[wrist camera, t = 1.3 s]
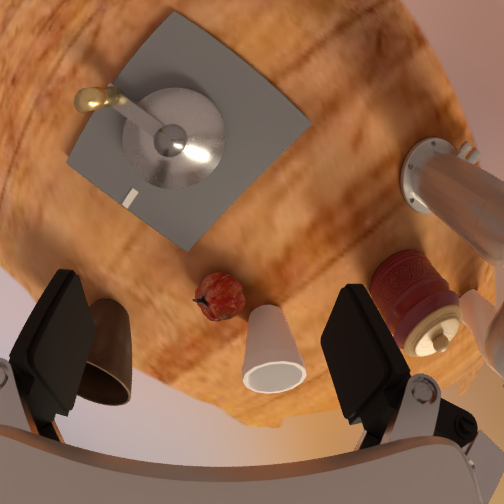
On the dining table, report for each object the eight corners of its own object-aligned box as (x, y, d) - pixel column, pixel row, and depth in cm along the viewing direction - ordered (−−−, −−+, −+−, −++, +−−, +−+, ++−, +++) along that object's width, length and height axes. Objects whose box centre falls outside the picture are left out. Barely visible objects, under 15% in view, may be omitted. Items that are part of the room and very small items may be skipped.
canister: (354, 291, 47) (391, 371, 32) (401, 235, 41) (461, 307, 27) (394, 311, 51) (430, 379, 36) (436, 265, 46) (485, 328, 31)
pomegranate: (248, 264, 45) (205, 260, 37) (268, 304, 43) (226, 310, 34) (218, 287, 49) (174, 287, 40) (235, 325, 46) (191, 332, 38)
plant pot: (163, 330, 50) (149, 404, 36) (109, 344, 52) (89, 407, 39) (116, 272, 42) (82, 347, 29) (64, 295, 44) (30, 358, 31)
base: (174, 12, 23) (171, 9, 21) (309, 122, 32) (313, 124, 30) (69, 158, 31) (63, 161, 30) (188, 246, 40) (187, 252, 39)
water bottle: (464, 284, 50) (527, 375, 26) (485, 280, 50) (544, 362, 26) (447, 316, 55) (498, 405, 32) (468, 311, 56) (518, 391, 32)
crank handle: (247, 130, 30) (252, 144, 23) (183, 201, 35) (169, 236, 27) (143, 50, 24) (113, 40, 16) (88, 129, 28) (49, 146, 20)
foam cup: (262, 289, 45) (271, 353, 35) (303, 311, 49) (319, 370, 38) (230, 322, 49) (230, 384, 38) (269, 340, 53) (277, 397, 42)
